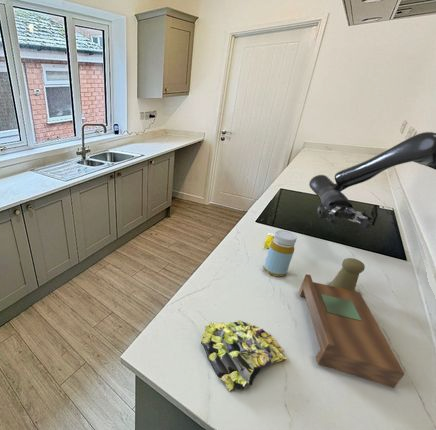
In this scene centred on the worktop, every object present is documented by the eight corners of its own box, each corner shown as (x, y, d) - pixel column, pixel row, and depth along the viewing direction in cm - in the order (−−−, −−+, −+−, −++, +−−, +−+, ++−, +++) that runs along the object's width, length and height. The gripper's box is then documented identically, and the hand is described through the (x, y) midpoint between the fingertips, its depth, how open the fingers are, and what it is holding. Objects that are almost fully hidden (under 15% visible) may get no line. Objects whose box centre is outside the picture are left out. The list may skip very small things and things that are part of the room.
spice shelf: (353, 304, 79) (363, 285, 75) (394, 387, 57) (410, 366, 54) (298, 292, 84) (305, 273, 80) (317, 364, 62) (328, 343, 59)
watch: (268, 251, 104) (272, 238, 101) (261, 248, 106) (264, 235, 103) (274, 245, 107) (278, 232, 105) (267, 242, 109) (270, 230, 106)
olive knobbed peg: (352, 286, 85) (366, 258, 80) (355, 297, 81) (370, 269, 76) (329, 279, 88) (341, 253, 83) (331, 290, 84) (344, 263, 79)
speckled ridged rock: (256, 322, 75) (269, 310, 70) (292, 388, 63) (310, 379, 58) (192, 325, 70) (202, 313, 66) (218, 396, 58) (231, 387, 54)
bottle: (288, 270, 93) (300, 234, 86) (282, 280, 89) (295, 242, 82) (266, 262, 98) (277, 227, 91) (260, 271, 93) (271, 235, 86)
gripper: (316, 191, 98) (328, 211, 85) (363, 196, 93) (384, 218, 80) (309, 209, 102) (320, 230, 89) (354, 214, 97) (373, 238, 84)
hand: (350, 224), depth 85 cm, fingers open, 8 cm apart
